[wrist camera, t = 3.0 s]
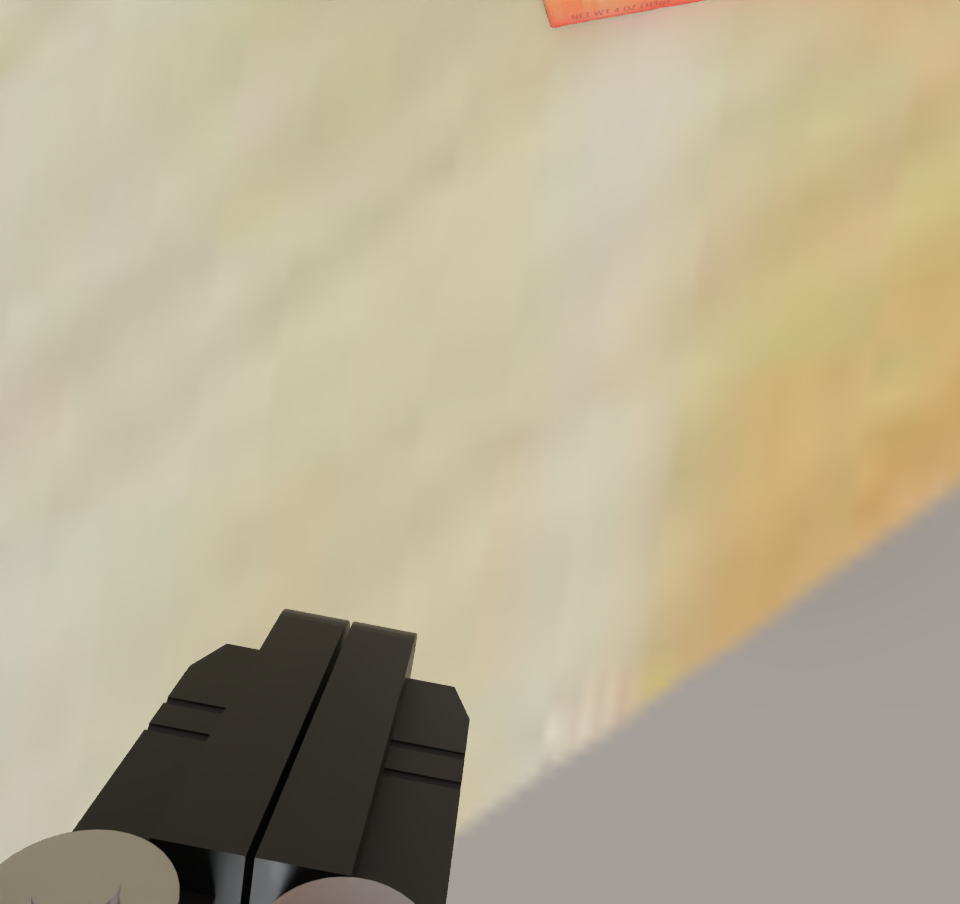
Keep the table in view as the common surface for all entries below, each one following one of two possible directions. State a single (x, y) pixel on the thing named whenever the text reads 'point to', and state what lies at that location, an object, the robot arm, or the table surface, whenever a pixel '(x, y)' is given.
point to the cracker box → (599, 9)
